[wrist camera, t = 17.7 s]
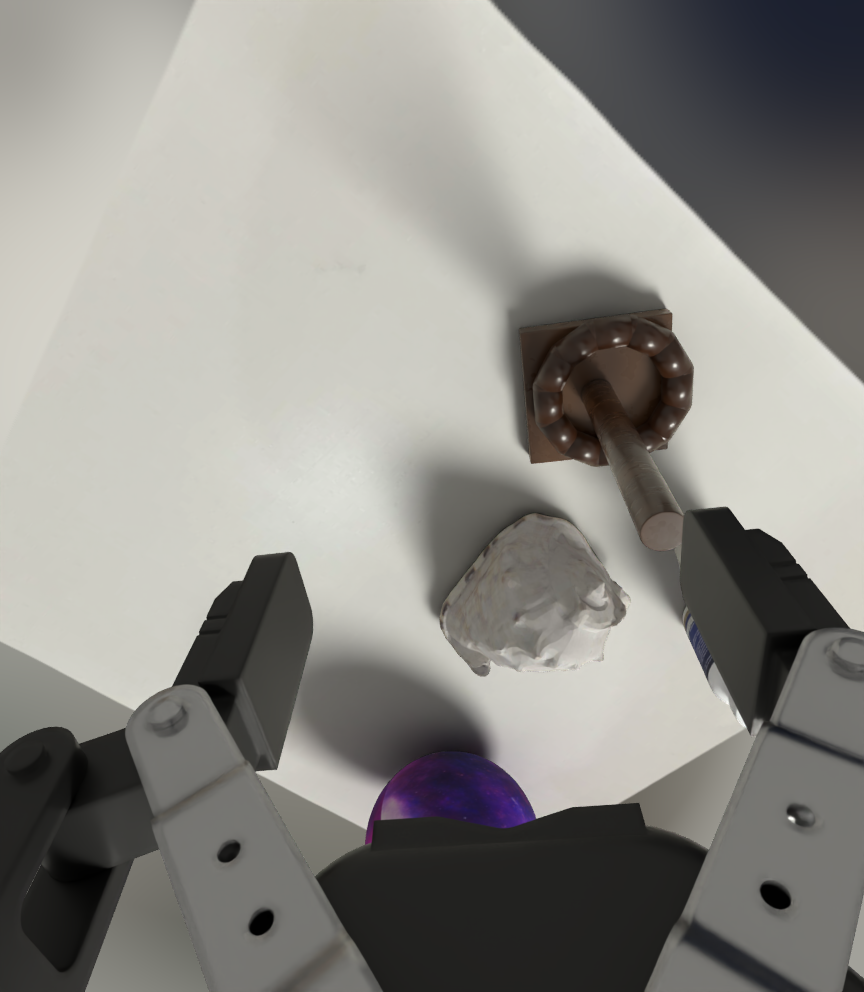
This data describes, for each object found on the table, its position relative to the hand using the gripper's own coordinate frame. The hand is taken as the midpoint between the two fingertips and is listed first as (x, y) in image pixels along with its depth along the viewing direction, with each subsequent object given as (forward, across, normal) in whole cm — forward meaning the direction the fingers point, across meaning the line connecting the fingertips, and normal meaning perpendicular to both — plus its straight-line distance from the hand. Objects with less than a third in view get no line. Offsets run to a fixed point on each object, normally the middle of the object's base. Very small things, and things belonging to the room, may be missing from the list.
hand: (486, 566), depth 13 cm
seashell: (+29, -3, +24) cm, 38 cm away
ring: (+27, -8, +8) cm, 29 cm away
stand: (+29, -8, +8) cm, 31 cm away
